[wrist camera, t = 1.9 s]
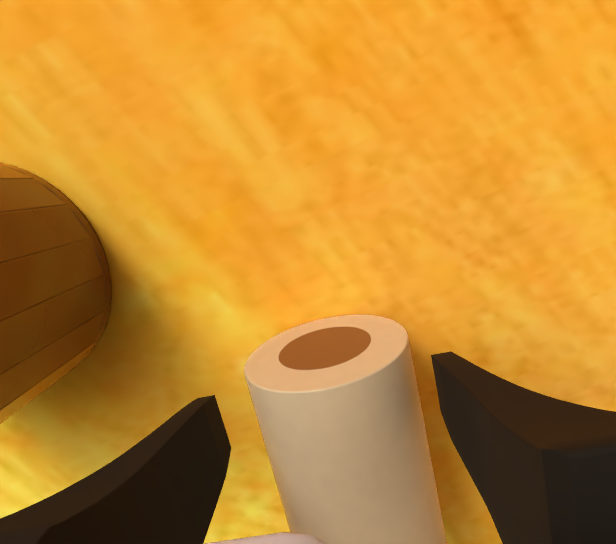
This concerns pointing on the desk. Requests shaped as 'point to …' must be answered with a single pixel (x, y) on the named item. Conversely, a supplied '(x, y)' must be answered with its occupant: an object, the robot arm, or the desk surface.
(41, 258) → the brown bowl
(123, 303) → the desk surface
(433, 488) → the paper roll
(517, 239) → the desk surface
